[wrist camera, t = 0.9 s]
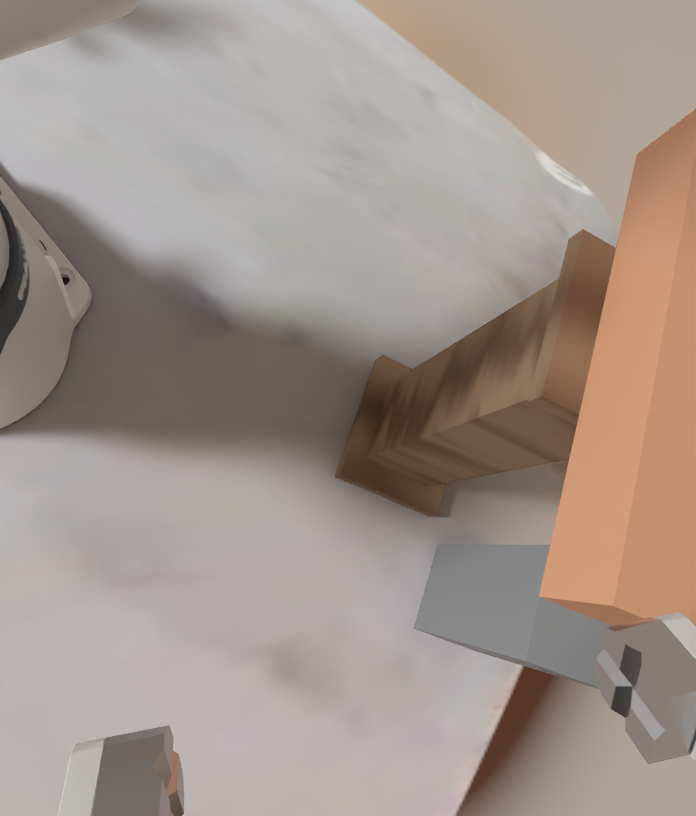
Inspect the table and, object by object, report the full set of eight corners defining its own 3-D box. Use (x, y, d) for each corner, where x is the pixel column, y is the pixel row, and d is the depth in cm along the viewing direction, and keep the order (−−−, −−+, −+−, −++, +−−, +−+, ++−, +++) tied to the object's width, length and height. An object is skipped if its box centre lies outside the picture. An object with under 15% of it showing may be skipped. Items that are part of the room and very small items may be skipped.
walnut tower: (429, 516, 52) (688, 491, 28) (334, 476, 49) (526, 412, 26) (462, 401, 55) (719, 290, 31) (376, 360, 53) (578, 207, 29)
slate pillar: (476, 651, 50) (607, 691, 37) (414, 628, 49) (525, 660, 35) (496, 569, 53) (627, 577, 39) (437, 545, 51) (551, 545, 37)
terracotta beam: (618, 628, 25) (703, 643, 21) (538, 596, 24) (613, 605, 20) (695, 191, 32) (768, 145, 28) (637, 154, 31) (704, 102, 28)
